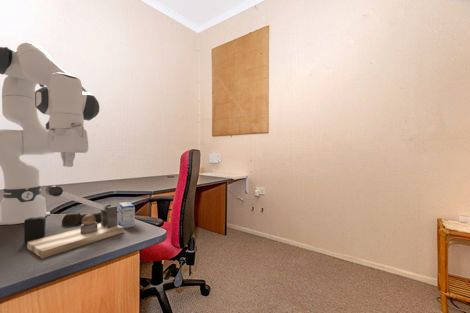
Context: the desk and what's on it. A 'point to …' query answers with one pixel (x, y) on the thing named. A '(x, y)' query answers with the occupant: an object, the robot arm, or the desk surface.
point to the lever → (72, 197)
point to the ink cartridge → (34, 229)
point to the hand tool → (77, 218)
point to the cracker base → (78, 235)
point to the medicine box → (126, 214)
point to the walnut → (88, 219)
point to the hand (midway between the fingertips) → (68, 166)
